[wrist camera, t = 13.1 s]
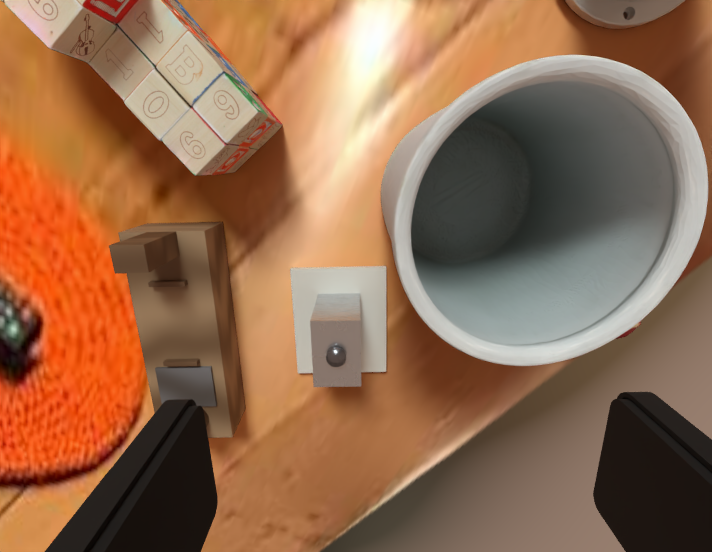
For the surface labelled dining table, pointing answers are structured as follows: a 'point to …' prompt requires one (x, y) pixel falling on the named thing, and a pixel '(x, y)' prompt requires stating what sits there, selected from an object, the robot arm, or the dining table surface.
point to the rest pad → (342, 281)
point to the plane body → (185, 317)
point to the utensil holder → (546, 208)
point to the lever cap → (336, 340)
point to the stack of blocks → (161, 75)
